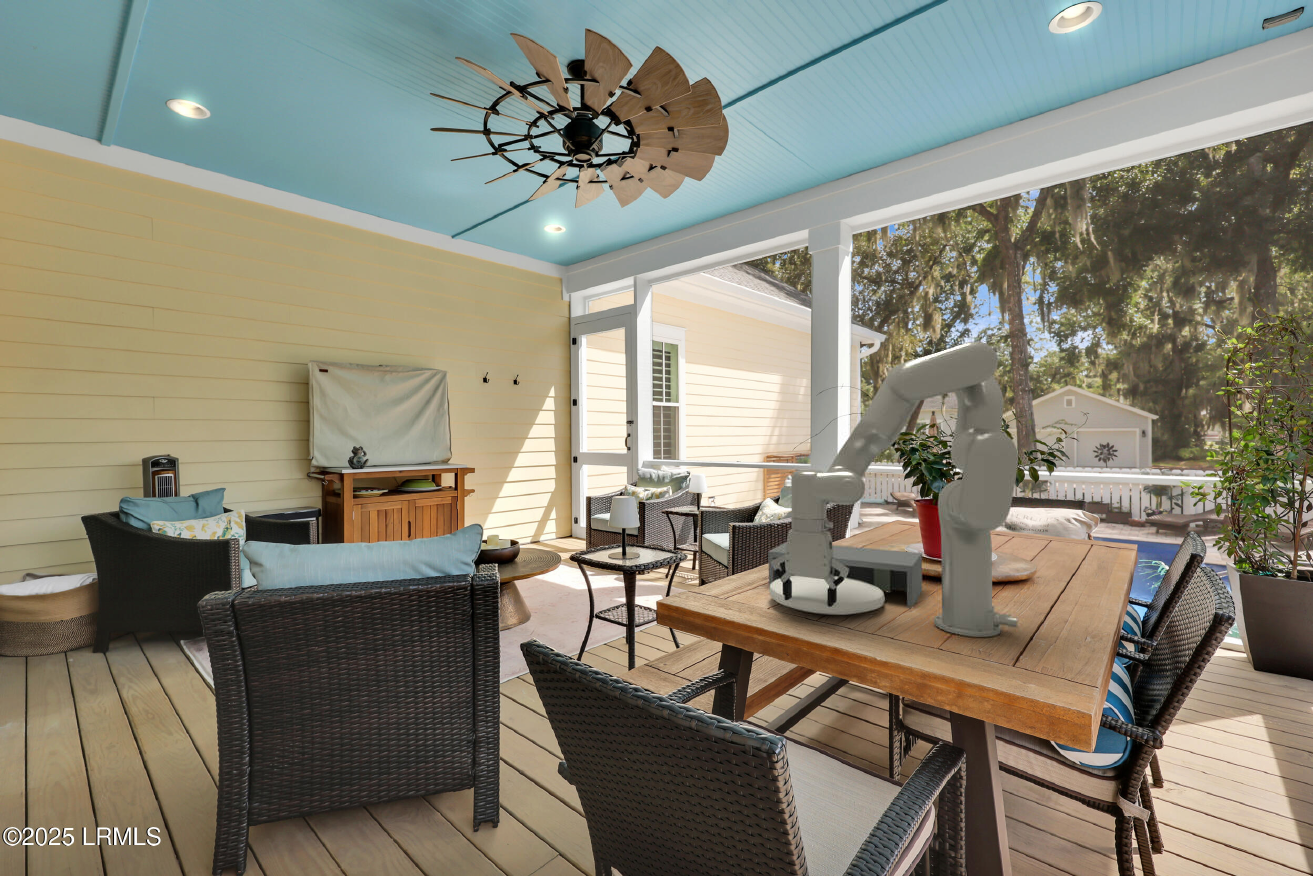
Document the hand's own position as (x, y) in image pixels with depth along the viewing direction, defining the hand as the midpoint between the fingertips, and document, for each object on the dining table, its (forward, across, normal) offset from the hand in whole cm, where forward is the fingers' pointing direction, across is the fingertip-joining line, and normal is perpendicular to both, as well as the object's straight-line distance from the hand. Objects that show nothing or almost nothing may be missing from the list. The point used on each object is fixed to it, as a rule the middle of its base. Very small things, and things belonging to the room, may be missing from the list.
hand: (809, 602), depth 130 cm
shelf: (+4, 0, -30) cm, 30 cm away
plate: (+5, 0, -14) cm, 15 cm away
